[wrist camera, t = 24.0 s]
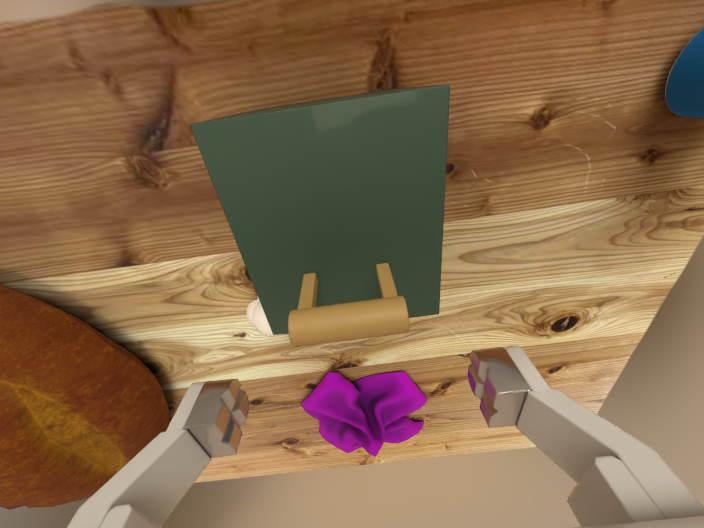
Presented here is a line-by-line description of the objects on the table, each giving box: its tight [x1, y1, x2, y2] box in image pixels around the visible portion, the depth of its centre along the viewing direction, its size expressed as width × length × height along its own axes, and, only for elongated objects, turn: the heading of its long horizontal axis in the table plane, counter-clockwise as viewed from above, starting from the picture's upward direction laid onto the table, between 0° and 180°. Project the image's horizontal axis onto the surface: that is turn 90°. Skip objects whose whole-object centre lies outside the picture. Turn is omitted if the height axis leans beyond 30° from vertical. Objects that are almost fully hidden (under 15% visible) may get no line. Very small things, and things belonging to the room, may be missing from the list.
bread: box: [0, 285, 169, 509], centre depth 30 cm, size 21×33×12 cm, turn 3°
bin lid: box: [190, 84, 450, 347], centre depth 13 cm, size 12×11×5 cm
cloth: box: [301, 371, 427, 456], centre depth 40 cm, size 22×19×6 cm
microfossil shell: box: [247, 297, 281, 337], centre depth 27 cm, size 4×5×6 cm
